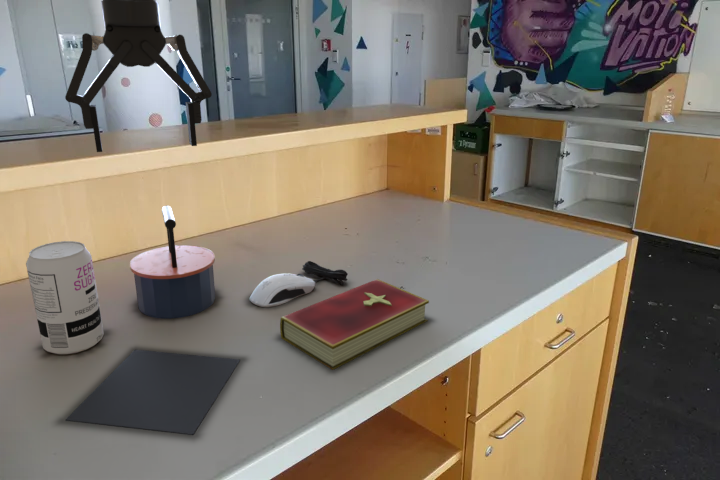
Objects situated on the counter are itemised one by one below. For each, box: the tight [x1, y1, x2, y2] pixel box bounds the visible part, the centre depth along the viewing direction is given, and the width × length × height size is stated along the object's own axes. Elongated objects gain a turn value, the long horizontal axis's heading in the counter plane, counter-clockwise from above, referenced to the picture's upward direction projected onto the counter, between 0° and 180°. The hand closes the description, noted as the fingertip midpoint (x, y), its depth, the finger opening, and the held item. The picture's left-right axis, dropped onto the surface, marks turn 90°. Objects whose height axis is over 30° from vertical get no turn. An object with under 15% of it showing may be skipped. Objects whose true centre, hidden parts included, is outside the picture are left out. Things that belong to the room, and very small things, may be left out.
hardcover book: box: [279, 278, 430, 371], centre depth 87 cm, size 12×21×4 cm, turn 135°
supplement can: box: [25, 240, 105, 355], centre depth 80 cm, size 8×8×15 cm
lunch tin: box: [133, 264, 216, 320], centre depth 94 cm, size 13×13×8 cm
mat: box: [65, 349, 241, 436], centre depth 72 cm, size 16×16×1 cm
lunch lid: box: [129, 205, 216, 279], centre depth 91 cm, size 14×14×10 cm
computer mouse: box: [249, 260, 349, 308], centre depth 100 cm, size 10×18×4 cm, turn 136°
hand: (147, 147), depth 85 cm, fingers open, 13 cm apart
